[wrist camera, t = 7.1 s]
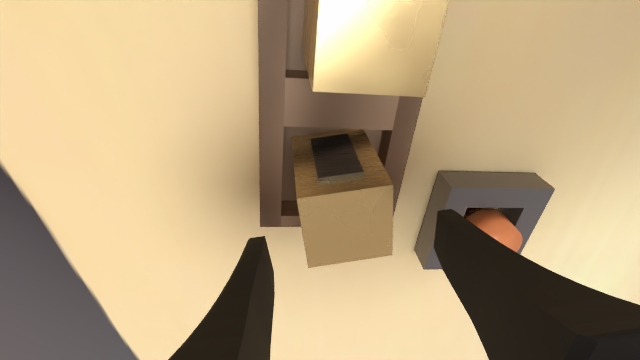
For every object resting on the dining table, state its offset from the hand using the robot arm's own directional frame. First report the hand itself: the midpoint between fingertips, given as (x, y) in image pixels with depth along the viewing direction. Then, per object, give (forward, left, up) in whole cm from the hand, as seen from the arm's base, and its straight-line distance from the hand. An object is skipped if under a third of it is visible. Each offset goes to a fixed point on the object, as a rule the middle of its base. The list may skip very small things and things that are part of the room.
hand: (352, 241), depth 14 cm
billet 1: (0, -8, -7) cm, 11 cm away
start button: (-11, +5, -6) cm, 13 cm away
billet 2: (0, 0, -7) cm, 7 cm away
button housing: (-11, +5, -8) cm, 14 cm away
